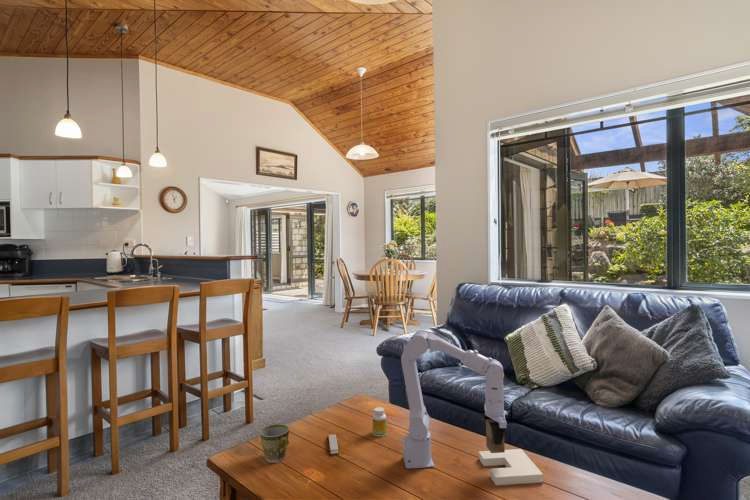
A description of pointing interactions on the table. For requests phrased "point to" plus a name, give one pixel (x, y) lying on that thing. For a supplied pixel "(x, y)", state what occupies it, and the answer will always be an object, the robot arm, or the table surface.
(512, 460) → the socket block
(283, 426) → the ceramic cup
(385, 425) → the supplement bottle
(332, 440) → the harmonica
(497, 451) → the peg
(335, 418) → the table surface
